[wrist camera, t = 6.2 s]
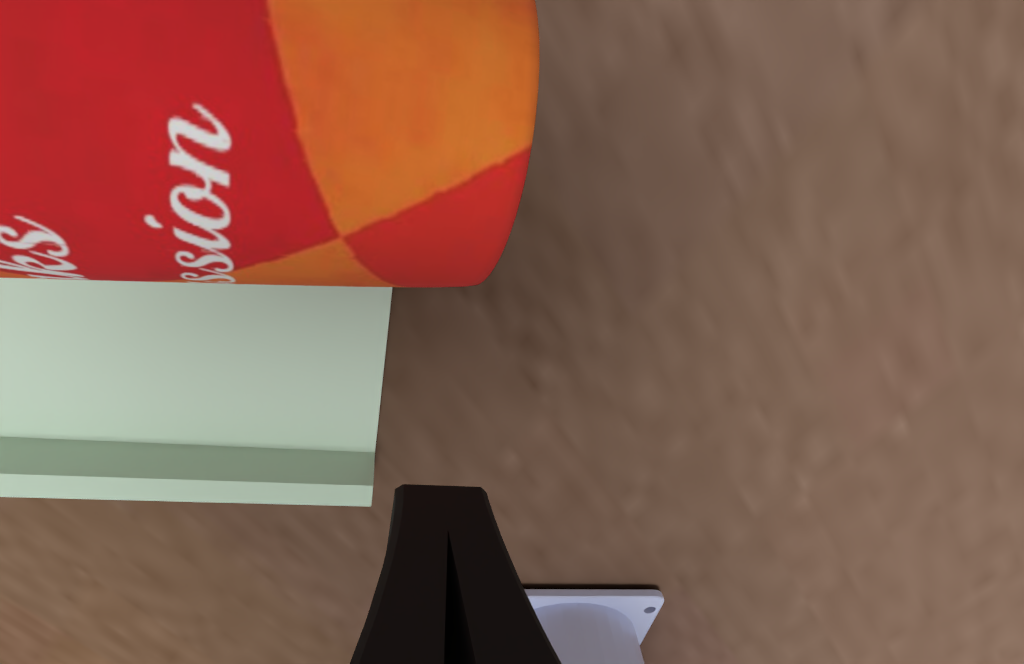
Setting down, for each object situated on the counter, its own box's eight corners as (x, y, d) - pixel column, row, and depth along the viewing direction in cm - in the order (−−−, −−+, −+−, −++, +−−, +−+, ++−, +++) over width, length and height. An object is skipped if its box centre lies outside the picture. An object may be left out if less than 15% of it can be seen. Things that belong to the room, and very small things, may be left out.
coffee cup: (426, 316, 18) (-353, 260, 13) (457, -18, 17) (-375, -210, 12) (535, 392, 10) (-1298, 321, 5) (605, -226, 9) (-1594, -998, 4)
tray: (373, 463, 24) (371, 506, 22) (-183, 442, 20) (-227, 490, 19) (440, -182, 13) (444, -179, 12) (-680, -442, 10) (-859, -480, 8)
